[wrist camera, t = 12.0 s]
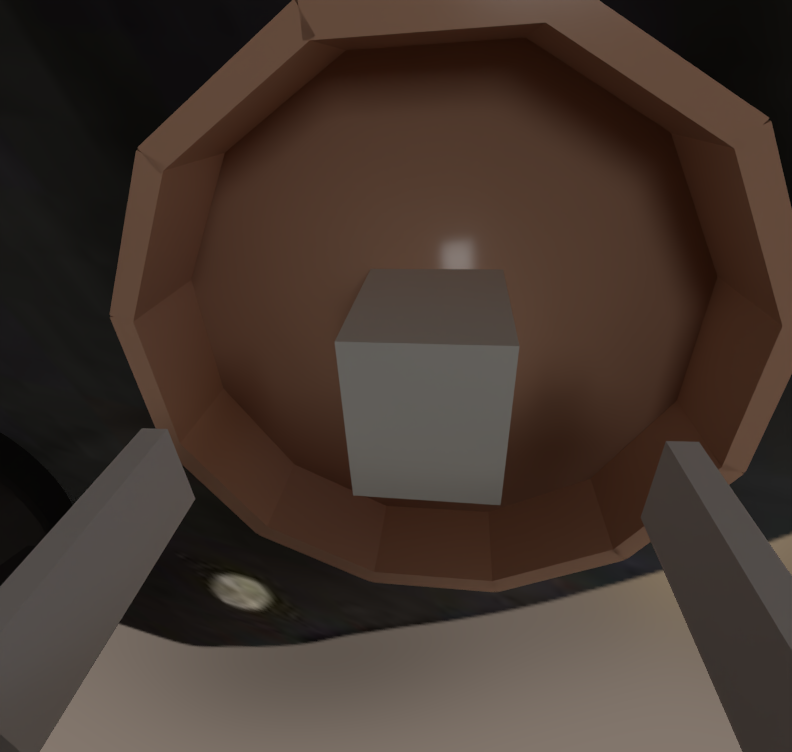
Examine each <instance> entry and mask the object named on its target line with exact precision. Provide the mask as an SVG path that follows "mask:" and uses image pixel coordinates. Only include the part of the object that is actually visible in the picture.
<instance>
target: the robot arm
mask: <svg viewBox="0 0 792 752" xmlns="http://www.w3.org/2000/svg"><path fill="white" fill-rule="evenodd" d="M194 500H195V497H194V494H193V492H192V489H191V487H190V484H189V482H188V479H187V477H186V474H185V472H184V469H183V467H182V464H181V462H180V459H179V457H178V454H177V452H176V449H175V447H174V444H173V442H172V439H171V436H170V434H169V431H168V429H147V428H142V429H141V430H140V431H139V432H138V433H137V434H136V436H135V437H134V438H133V439H132V440H131V441H130V442H129V443H128V444H127V446H126V447H125V448H124V449H123V450H122V451H121V452H120V453H119V455H118V456H117V457H116V458H115V459H114V460H113V461H112V462H111V463H110V465H109V466H108V467H107V468H106V469H105V470H104V471H103V472H102V473H101V475H100V476H99V477H98V478H97V479H96V480H95V481H94V482H93V484H92V485H91V486H90V487H89V488H88V489H87V490H86V491H85V492H84V494H83V495H82V496H81V497H80V498H79V499H78V500H77V501H76V503H75V504H74V505H73V506H72V504H71V502H70V500H69V498H68V496H67V495H66V493H65V492H64V490H63V489H62V487H61V486H60V485H59V483H58V482H57V481H56V480H55V478H54V477H53V476H52V475H51V474H50V473H49V472H48V471H47V469H45V468H44V467H43V466H42V465H41V464H40V463H39V462H38V461H37V460H36V459H35V458H34V457H33V456H32V455H30V454H29V453H28V452H27V451H26V450H24V449H23V448H22V447H20V446H19V445H18V444H16V443H15V442H14V441H12V440H11V439H9V438H8V437H6V436H5V435H3V434H2V433H0V752H40V750H41V749H42V747H43V745H44V744H45V742H46V740H47V739H48V737H49V736H50V734H51V732H52V731H53V729H54V727H55V726H56V724H57V723H58V721H59V719H60V718H61V716H62V714H63V713H64V711H65V710H66V708H67V706H68V705H69V703H70V701H71V700H72V698H73V697H74V695H75V693H76V692H77V690H78V688H79V687H80V685H81V684H82V682H83V680H84V679H85V677H86V675H87V674H88V672H89V670H90V669H91V667H92V666H93V664H94V662H95V661H96V659H97V657H98V656H99V654H100V653H101V651H102V649H103V648H104V646H105V645H106V643H107V641H108V640H109V638H110V636H111V635H112V633H113V632H114V630H115V628H116V627H117V625H118V624H119V622H120V620H121V619H122V617H123V615H124V614H125V612H126V611H127V609H128V607H129V606H130V604H131V602H132V601H133V599H134V598H135V596H136V594H137V593H138V591H139V589H140V588H141V586H142V585H143V583H144V581H145V580H146V578H147V576H148V575H149V573H150V572H151V570H152V568H153V567H154V565H155V563H156V562H157V560H158V559H159V557H160V555H161V554H162V552H163V550H164V549H165V547H166V546H167V544H168V542H169V541H170V539H171V537H172V536H173V534H174V533H175V531H176V529H177V528H178V526H179V524H180V523H181V521H182V520H183V518H184V516H185V515H186V513H187V511H188V510H189V508H190V507H191V505H192V503H193V502H194ZM641 520H642V522H643V524H644V527H645V529H646V531H647V534H648V536H649V538H650V540H651V543H652V545H653V547H654V550H655V552H656V554H657V556H658V559H659V561H660V563H661V566H662V568H663V570H664V573H665V575H666V577H667V579H668V582H669V584H670V586H671V588H672V591H673V593H674V595H675V598H676V600H677V602H678V604H679V607H680V609H681V611H682V614H683V616H684V618H685V621H686V623H687V625H688V628H689V630H690V632H691V634H692V637H693V639H694V641H695V644H696V646H697V648H698V651H699V653H700V655H701V657H702V659H703V662H704V664H705V666H706V669H707V671H708V673H709V676H710V678H711V680H712V683H713V685H714V687H715V690H716V692H717V694H718V696H719V699H720V701H721V703H722V706H723V708H724V710H725V712H726V715H727V717H728V719H729V721H730V723H731V726H732V729H733V731H734V733H735V735H736V738H737V740H738V742H739V745H740V747H741V749H742V751H743V752H792V576H791V574H790V573H789V571H788V570H787V569H786V567H785V566H784V564H783V563H782V561H781V560H780V558H779V557H778V555H777V554H776V553H775V551H774V550H773V548H772V547H771V545H770V544H769V542H768V541H767V539H766V538H765V537H764V535H763V534H762V532H761V531H760V529H759V528H758V526H757V525H756V524H755V522H754V521H753V519H752V518H751V516H750V515H749V513H748V512H747V511H746V509H745V508H744V506H743V505H742V503H741V502H740V500H739V499H738V498H737V496H736V495H735V493H734V492H733V490H732V489H731V487H730V486H729V485H728V483H727V482H726V480H725V479H724V477H723V476H722V474H721V473H720V471H719V470H718V469H717V467H716V466H715V464H714V463H713V461H712V460H711V458H710V457H709V456H708V454H707V453H706V451H705V450H704V448H703V447H702V445H701V444H700V443H699V442H686V441H666V442H665V445H664V448H663V451H662V454H661V457H660V460H659V463H658V466H657V469H656V472H655V475H654V478H653V481H652V485H651V488H650V491H649V494H648V497H647V500H646V503H645V506H644V509H643V512H642V515H641Z"/></svg>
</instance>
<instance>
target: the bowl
mask: <svg viewBox="0 0 792 752" xmlns="http://www.w3.org/2000/svg"><path fill="white" fill-rule="evenodd" d="M768 119H769V117H767V116H766V115H764V114H763V113H761V112H760V111H758V110H757V109H756V108H754V107H753V106H751V105H750V104H748V103H747V102H745V101H744V100H742V99H741V98H740V97H738V96H737V95H735V94H734V93H732V92H731V91H729V90H728V89H727V88H725V87H724V86H722V85H721V84H719V83H718V82H716V81H715V80H714V79H712V78H711V77H709V76H708V75H706V74H705V73H703V72H702V71H700V70H699V69H698V68H696V67H695V66H693V65H692V64H690V63H689V62H687V61H686V60H685V59H683V58H682V57H680V56H679V55H677V54H676V53H674V52H673V51H672V50H670V49H669V48H667V47H666V46H664V45H663V44H661V43H660V42H658V41H657V40H656V39H654V38H653V37H651V36H650V35H648V34H647V33H645V32H644V31H643V30H641V29H640V28H638V27H637V26H635V25H634V24H632V23H631V22H629V21H628V20H627V19H625V18H624V17H622V16H621V15H619V14H618V13H616V12H615V11H614V10H612V9H611V8H609V7H608V6H606V5H605V4H603V3H602V2H601V1H599V0H298V1H297V0H292V1H291V2H290V3H289V4H288V5H287V6H286V7H285V8H284V9H283V10H282V11H281V12H280V13H279V14H277V15H276V16H275V17H274V18H273V19H272V20H271V21H270V22H269V23H268V24H267V25H266V26H265V27H264V28H263V29H262V30H261V31H260V32H259V33H257V34H256V35H255V36H254V37H253V38H252V39H251V40H250V41H249V42H248V43H247V44H246V45H245V46H244V47H243V48H242V49H241V50H240V51H239V52H237V53H236V54H235V55H234V56H233V57H232V58H231V59H230V60H229V61H228V62H227V63H226V64H225V65H224V66H223V67H222V68H221V69H220V70H219V71H217V72H216V73H215V74H214V75H213V76H212V77H211V78H210V79H209V80H208V81H207V82H206V83H205V84H204V85H203V86H202V87H201V88H200V89H199V90H197V91H196V92H195V93H194V94H193V95H192V96H191V97H190V98H189V99H188V100H187V101H186V102H185V103H184V104H183V105H182V106H181V107H180V108H179V109H177V110H176V111H175V112H174V113H173V114H172V115H171V116H170V117H169V118H168V119H167V120H166V121H165V122H164V123H163V124H162V125H161V126H160V127H159V128H157V129H156V130H155V131H154V132H153V133H152V134H151V135H150V136H149V137H148V138H147V139H146V140H145V141H144V142H143V143H142V144H141V145H140V146H139V147H137V148H138V149H139V150H136V154H135V160H134V167H133V173H132V179H131V185H130V191H129V197H128V204H127V210H126V216H125V222H124V228H123V234H122V241H121V247H120V253H119V259H118V265H117V272H116V278H115V284H114V290H113V296H112V302H111V309H110V315H111V317H110V319H111V321H112V324H113V326H114V328H115V331H116V333H117V336H118V338H119V341H120V343H121V345H122V348H123V350H124V353H125V355H126V358H127V360H128V362H129V365H130V367H131V370H132V372H133V375H134V377H135V379H136V382H137V384H138V387H139V389H140V392H141V394H142V396H143V399H144V401H145V404H146V406H147V409H148V411H149V413H150V416H151V418H152V421H153V423H154V425H155V428H156V429H168V431H169V434H170V436H171V439H172V442H173V444H174V447H175V449H176V452H177V454H178V457H179V459H180V462H181V464H182V465H183V466H184V467H185V468H186V469H188V470H189V471H190V472H191V473H192V474H193V475H194V476H195V477H196V478H197V479H198V480H199V481H200V482H202V483H203V484H204V485H205V486H206V487H207V488H208V489H209V490H210V491H211V492H212V493H213V494H214V495H216V496H217V497H218V498H219V499H220V500H221V501H222V502H223V503H224V504H225V505H226V506H227V507H228V508H230V509H231V510H232V511H233V512H234V513H235V514H236V515H237V516H238V517H239V518H240V519H241V520H242V521H244V522H245V523H246V524H247V525H248V526H249V527H250V528H251V529H252V530H253V531H254V532H255V533H256V534H258V533H259V534H258V535H260V536H262V537H265V538H267V539H270V540H272V541H274V542H277V543H279V544H281V545H284V546H286V547H289V548H291V549H293V550H296V551H298V552H300V553H303V554H305V555H308V556H310V557H312V558H315V559H317V560H319V561H322V562H324V563H327V564H329V565H331V566H334V567H336V568H338V569H341V570H343V571H346V572H348V573H350V574H353V575H355V576H357V577H360V578H362V579H365V580H367V581H369V582H371V581H372V582H374V583H386V584H399V585H411V586H424V587H436V588H448V589H461V590H473V591H485V592H495V590H496V592H500V591H504V590H508V589H512V588H516V587H520V586H524V585H527V584H531V583H535V582H539V581H543V580H547V579H551V578H555V577H559V576H563V575H567V574H571V573H575V572H579V571H583V570H587V569H591V568H595V567H599V566H603V565H607V564H611V563H615V562H619V561H623V560H624V559H627V558H629V557H630V556H632V555H633V554H634V553H636V552H637V551H638V550H640V549H641V548H643V547H644V546H645V545H647V544H648V543H649V542H651V540H650V538H649V536H648V534H647V531H646V529H645V527H644V524H643V522H642V520H641V515H642V512H643V509H644V506H645V503H646V500H647V497H648V494H649V491H650V488H651V485H652V481H653V478H654V475H655V472H656V469H657V466H658V463H659V460H660V457H661V454H662V451H663V448H664V445H665V442H666V441H686V442H699V443H700V444H701V445H702V447H703V448H704V450H705V451H706V453H707V454H708V456H709V457H710V458H711V460H712V461H713V463H714V464H715V466H716V467H717V469H718V470H719V471H720V473H721V474H722V476H723V477H724V479H725V480H726V482H727V483H728V485H729V484H731V483H732V482H733V481H735V480H736V479H737V478H739V477H740V476H742V475H743V474H744V473H743V472H746V470H747V468H748V466H749V464H750V461H751V459H752V457H753V455H754V453H755V451H756V449H757V446H758V444H759V442H760V440H761V438H762V436H763V434H764V432H765V429H766V427H767V425H768V423H769V421H770V419H771V417H772V415H773V412H774V410H775V408H776V406H777V404H778V402H779V400H780V398H781V395H782V393H783V391H784V389H785V387H786V385H787V383H788V380H789V378H790V376H791V374H792V209H791V204H790V200H789V196H788V191H787V187H786V183H785V178H784V174H783V170H782V166H781V161H780V157H779V153H778V148H777V144H776V140H775V135H774V131H773V127H772V122H771V121H769V120H768ZM370 269H500V270H503V272H504V276H505V281H506V286H507V290H508V295H509V300H510V304H511V309H512V314H513V318H514V323H515V328H516V332H517V337H518V342H519V354H518V363H517V371H516V380H515V388H514V396H513V405H512V413H511V422H510V430H509V439H508V447H507V455H506V464H505V472H504V481H503V489H502V498H501V505H489V504H474V503H459V502H444V501H429V500H414V499H399V498H384V497H369V496H354V495H353V491H352V482H351V474H350V466H349V457H348V449H347V441H346V433H345V424H344V416H343V408H342V399H341V391H340V383H339V375H338V366H337V358H336V350H335V340H336V338H337V336H338V334H339V332H340V330H341V328H342V326H343V324H344V322H345V319H346V317H347V315H348V313H349V311H350V309H351V307H352V305H353V303H354V301H355V299H356V297H357V295H358V293H359V291H360V289H361V287H362V285H363V283H364V281H365V279H366V277H367V275H368V273H369V271H370Z"/></svg>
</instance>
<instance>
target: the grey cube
mask: <svg viewBox="0 0 792 752" xmlns="http://www.w3.org/2000/svg"><path fill="white" fill-rule="evenodd" d="M335 350H336V358H337V366H338V375H339V383H340V391H341V399H342V408H343V416H344V424H345V433H346V441H347V449H348V457H349V466H350V474H351V482H352V491H353V495H354V496H369V497H384V498H399V499H414V500H429V501H444V502H459V503H474V504H489V505H501V498H502V489H503V481H504V472H505V464H506V455H507V447H508V439H509V430H510V422H511V413H512V405H513V396H514V388H515V380H516V371H517V363H518V354H519V342H518V337H517V332H516V328H515V323H514V318H513V314H512V309H511V304H510V300H509V295H508V290H507V286H506V281H505V276H504V272H503V270H500V269H370V271H369V273H368V275H367V277H366V279H365V281H364V283H363V285H362V287H361V289H360V291H359V293H358V295H357V297H356V299H355V301H354V303H353V305H352V307H351V309H350V311H349V313H348V315H347V317H346V319H345V322H344V324H343V326H342V328H341V330H340V332H339V334H338V336H337V338H336V340H335Z"/></svg>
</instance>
